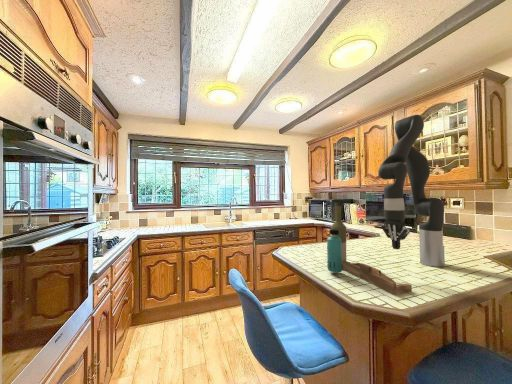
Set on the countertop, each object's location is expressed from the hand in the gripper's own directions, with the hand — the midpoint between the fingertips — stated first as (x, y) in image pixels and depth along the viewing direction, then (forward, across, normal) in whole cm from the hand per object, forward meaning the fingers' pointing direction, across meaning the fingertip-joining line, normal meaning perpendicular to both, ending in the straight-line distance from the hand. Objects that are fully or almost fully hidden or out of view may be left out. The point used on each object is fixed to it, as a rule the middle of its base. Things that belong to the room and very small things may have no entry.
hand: (396, 248), depth 94 cm
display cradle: (+11, +1, +13) cm, 17 cm away
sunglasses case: (+12, +3, +9) cm, 16 cm away
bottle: (+12, +19, +16) cm, 27 cm away
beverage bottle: (+11, +11, +24) cm, 28 cm away
